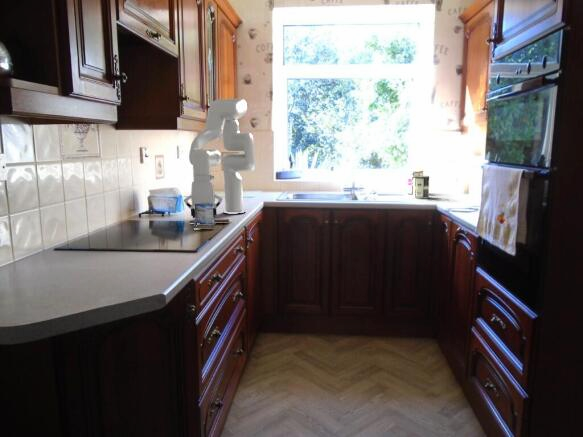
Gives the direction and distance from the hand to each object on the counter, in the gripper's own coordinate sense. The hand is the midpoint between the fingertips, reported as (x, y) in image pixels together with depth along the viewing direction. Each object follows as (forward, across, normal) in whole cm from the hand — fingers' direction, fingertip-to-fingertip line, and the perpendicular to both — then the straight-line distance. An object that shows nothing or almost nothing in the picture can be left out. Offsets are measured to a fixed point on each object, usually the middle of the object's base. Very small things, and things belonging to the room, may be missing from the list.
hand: (204, 217), depth 201 cm
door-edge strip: (+5, -2, -8) cm, 9 cm away
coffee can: (+5, -137, -79) cm, 158 cm away
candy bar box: (+5, -142, -100) cm, 174 cm away
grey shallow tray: (+5, 0, 0) cm, 5 cm away
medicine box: (+3, 0, 0) cm, 3 cm away
